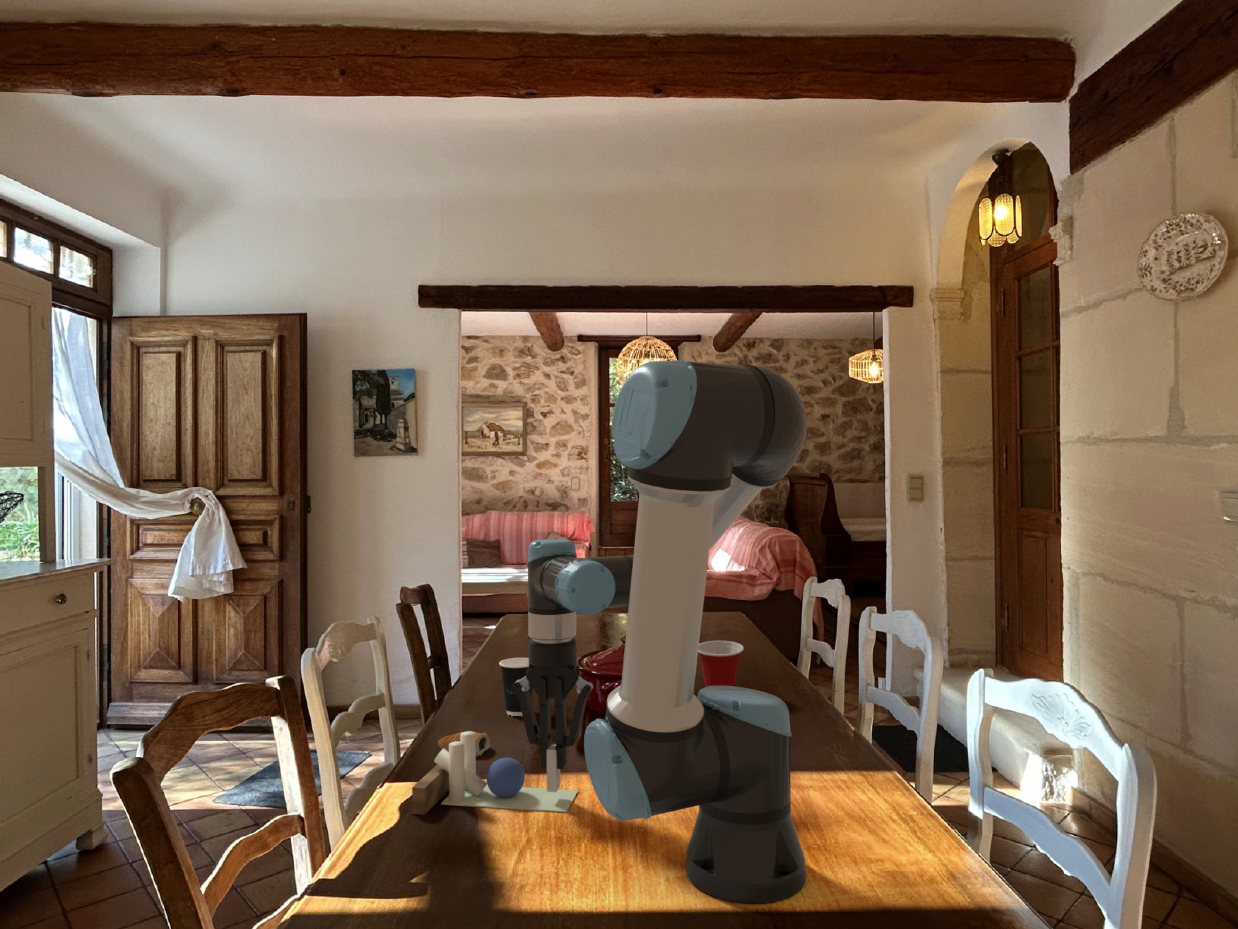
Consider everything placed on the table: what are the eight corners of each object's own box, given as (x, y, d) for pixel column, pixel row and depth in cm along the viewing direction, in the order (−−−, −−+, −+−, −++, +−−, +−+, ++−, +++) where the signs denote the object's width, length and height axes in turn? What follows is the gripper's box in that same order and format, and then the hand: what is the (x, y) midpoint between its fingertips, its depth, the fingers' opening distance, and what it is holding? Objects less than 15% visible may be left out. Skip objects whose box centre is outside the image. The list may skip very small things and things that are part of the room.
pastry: (430, 755, 149) (430, 734, 149) (449, 743, 155) (449, 723, 156) (476, 760, 146) (476, 739, 146) (493, 748, 152) (493, 728, 153)
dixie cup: (507, 721, 168) (506, 668, 168) (494, 711, 175) (494, 660, 175) (542, 715, 172) (542, 663, 172) (528, 706, 179) (528, 656, 179)
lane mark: (566, 812, 123) (566, 811, 123) (441, 804, 126) (441, 803, 126) (578, 791, 131) (578, 790, 131) (460, 784, 134) (460, 783, 134)
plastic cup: (690, 703, 180) (690, 649, 180) (701, 690, 190) (701, 639, 190) (739, 707, 176) (738, 652, 176) (748, 694, 186) (747, 642, 186)
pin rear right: (461, 805, 126) (461, 746, 126) (446, 804, 126) (446, 746, 126) (467, 798, 128) (466, 741, 128) (452, 798, 129) (452, 741, 129)
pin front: (484, 787, 128) (440, 751, 129) (475, 799, 128) (431, 763, 130) (489, 781, 130) (445, 746, 132) (480, 793, 131) (437, 758, 132)
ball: (476, 769, 127) (486, 807, 127) (511, 761, 126) (521, 799, 125) (490, 757, 133) (500, 793, 132) (523, 748, 132) (533, 785, 131)
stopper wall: (424, 815, 122) (424, 788, 123) (412, 814, 123) (412, 787, 123) (462, 775, 138) (462, 751, 138) (451, 774, 139) (451, 751, 139)
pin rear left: (472, 792, 131) (472, 736, 131) (458, 791, 131) (458, 735, 131) (477, 786, 133) (477, 731, 133) (463, 785, 134) (463, 731, 134)
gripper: (597, 634, 130) (599, 782, 130) (519, 632, 132) (520, 777, 132) (588, 644, 123) (589, 801, 122) (505, 642, 125) (506, 795, 125)
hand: (553, 788), depth 127 cm, fingers closed
